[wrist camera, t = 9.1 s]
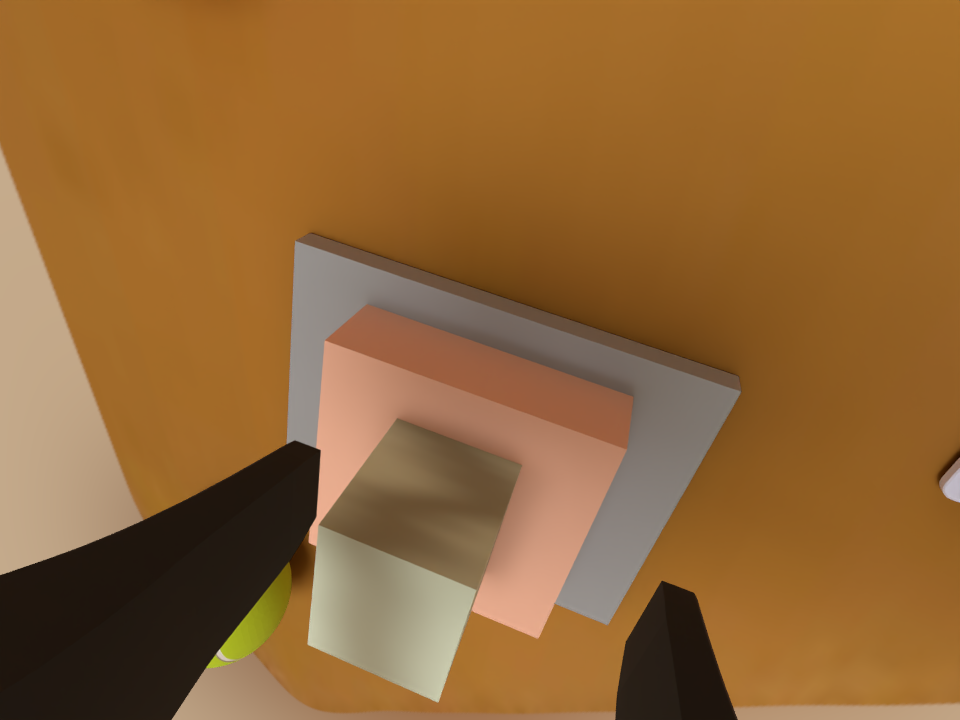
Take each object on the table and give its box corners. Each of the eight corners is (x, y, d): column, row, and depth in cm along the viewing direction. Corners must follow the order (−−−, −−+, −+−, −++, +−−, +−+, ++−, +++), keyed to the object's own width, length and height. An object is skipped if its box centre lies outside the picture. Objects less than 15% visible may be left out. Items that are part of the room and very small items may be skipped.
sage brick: (522, 465, 19) (476, 589, 14) (484, 573, 22) (438, 702, 17) (396, 418, 19) (318, 525, 15) (377, 529, 22) (307, 644, 18)
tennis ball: (308, 503, 29) (214, 621, 23) (324, 596, 32) (246, 719, 27) (192, 475, 31) (78, 579, 25) (220, 566, 34) (125, 675, 28)
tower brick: (633, 396, 20) (626, 449, 17) (552, 577, 25) (538, 638, 22) (366, 304, 21) (324, 340, 18) (344, 494, 26) (308, 542, 24)
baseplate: (738, 376, 19) (741, 391, 18) (609, 606, 26) (607, 624, 25) (310, 233, 21) (295, 241, 21) (296, 480, 28) (284, 493, 28)
